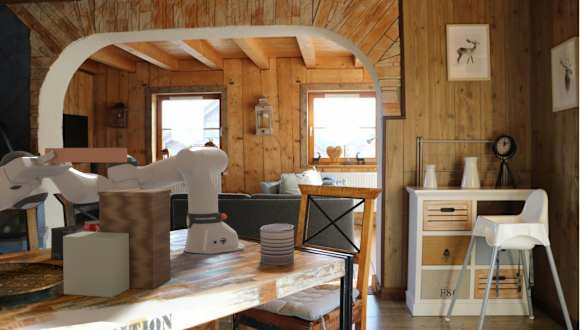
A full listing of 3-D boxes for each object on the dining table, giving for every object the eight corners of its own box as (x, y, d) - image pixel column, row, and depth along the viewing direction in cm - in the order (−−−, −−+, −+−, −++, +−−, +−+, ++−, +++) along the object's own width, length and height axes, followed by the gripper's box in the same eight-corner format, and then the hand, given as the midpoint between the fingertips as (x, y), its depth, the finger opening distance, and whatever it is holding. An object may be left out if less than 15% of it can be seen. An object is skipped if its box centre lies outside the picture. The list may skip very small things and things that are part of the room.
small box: (61, 260, 164) (60, 229, 164) (50, 258, 167) (49, 228, 167) (88, 254, 173) (88, 225, 173) (77, 252, 176) (77, 224, 176)
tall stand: (98, 285, 132) (97, 191, 131) (120, 276, 142) (119, 188, 141) (153, 289, 128) (152, 192, 127) (171, 279, 138) (171, 189, 138)
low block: (63, 294, 124) (63, 236, 124) (83, 285, 132) (82, 231, 132) (112, 297, 121) (111, 238, 121) (129, 288, 129) (128, 233, 129)
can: (300, 261, 161) (300, 226, 161) (273, 266, 154) (273, 229, 154) (280, 256, 170) (280, 222, 170) (253, 260, 163) (253, 225, 163)
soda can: (98, 261, 161) (97, 223, 161) (79, 261, 163) (78, 222, 162) (110, 257, 168) (109, 220, 168) (92, 256, 169) (91, 220, 169)
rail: (45, 162, 137) (44, 148, 137) (53, 161, 140) (53, 148, 140) (120, 162, 131) (120, 147, 131) (127, 162, 135) (127, 147, 134)
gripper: (55, 184, 150) (88, 162, 147) (2, 189, 130) (39, 163, 127) (46, 166, 151) (79, 144, 148) (-8, 168, 131) (29, 143, 128)
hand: (60, 153), depth 137 cm, fingers closed on rail, 3 cm apart
